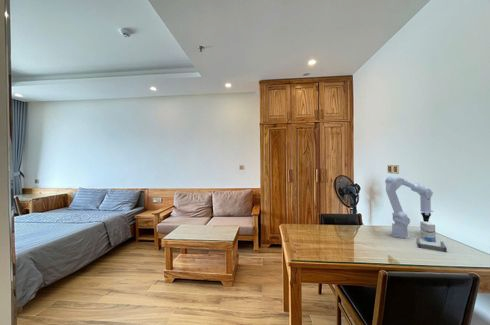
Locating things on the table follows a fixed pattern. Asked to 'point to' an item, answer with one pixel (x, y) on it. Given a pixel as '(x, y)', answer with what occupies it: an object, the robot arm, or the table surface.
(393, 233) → the robot arm
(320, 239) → the table surface
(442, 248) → the bay
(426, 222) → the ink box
